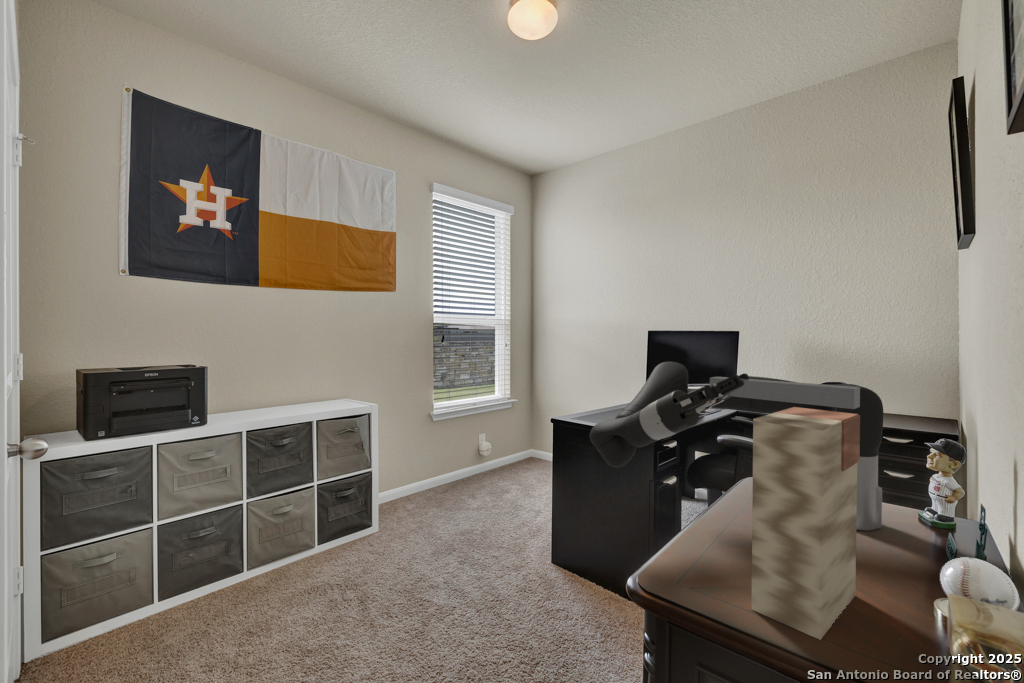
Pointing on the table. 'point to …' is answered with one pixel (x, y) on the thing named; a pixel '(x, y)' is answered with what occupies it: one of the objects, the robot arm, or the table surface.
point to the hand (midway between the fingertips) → (743, 379)
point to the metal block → (796, 392)
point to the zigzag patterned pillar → (804, 516)
